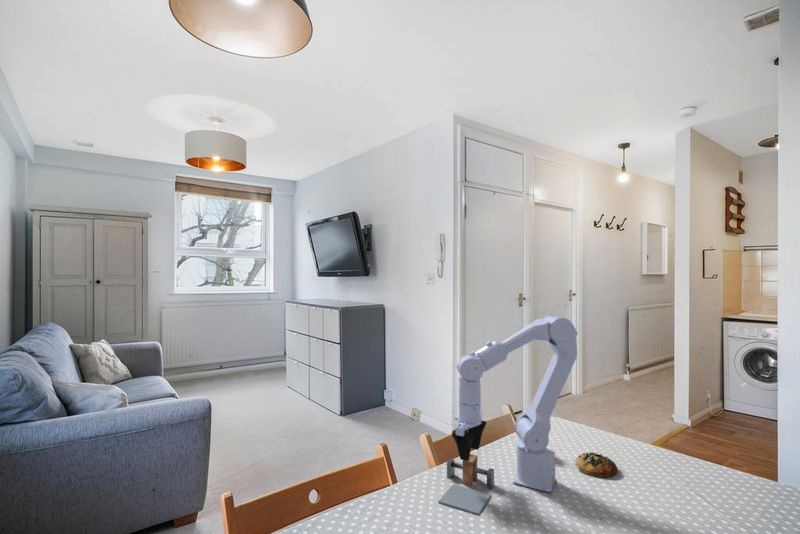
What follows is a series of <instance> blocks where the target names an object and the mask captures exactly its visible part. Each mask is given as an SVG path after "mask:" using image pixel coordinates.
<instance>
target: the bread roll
mask: <svg viewBox="0 0 800 534" xmlns="http://www.w3.org/2000/svg"><path fill="white" fill-rule="evenodd" d="M574 463H575V466H576V468H577V469H579V470H580V472H582V473H583V472H584V473H583V474H585V473H586V474H585V475H587V474H589V475H588V476H591V475H593V476H592V477H596V476H597V477H598V476H599V477H600V478H603V477H605V478H610V477H611V478H612V477H614V476H615V475H616V474H617V473H618V467H617V464H616V463H615V461H613V460H612V459H610V457H608V456H607V455H606V456H604V455H603V454H598V453H597V452H582V453H580V454H578V455H577V457H576V458H575V460H574ZM613 475H614V476H613Z"/></svg>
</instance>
